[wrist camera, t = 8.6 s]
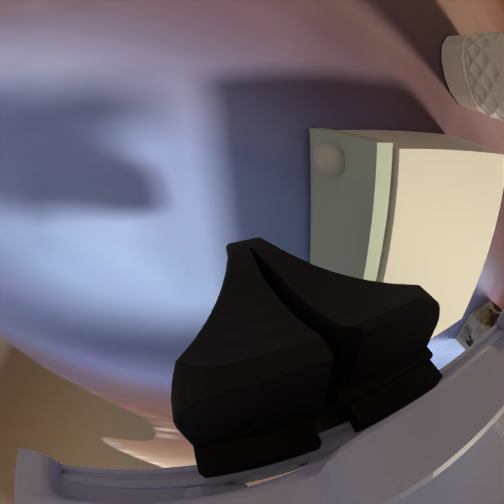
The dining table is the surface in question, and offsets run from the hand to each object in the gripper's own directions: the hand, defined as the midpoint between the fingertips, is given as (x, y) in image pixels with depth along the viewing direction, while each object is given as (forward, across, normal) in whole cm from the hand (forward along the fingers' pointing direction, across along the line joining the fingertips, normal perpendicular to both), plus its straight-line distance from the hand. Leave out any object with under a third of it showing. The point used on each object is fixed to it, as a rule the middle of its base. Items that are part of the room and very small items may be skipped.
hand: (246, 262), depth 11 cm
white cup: (+5, -20, -10) cm, 23 cm away
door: (+4, -5, +3) cm, 7 cm away
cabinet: (+4, -12, +3) cm, 13 cm away
